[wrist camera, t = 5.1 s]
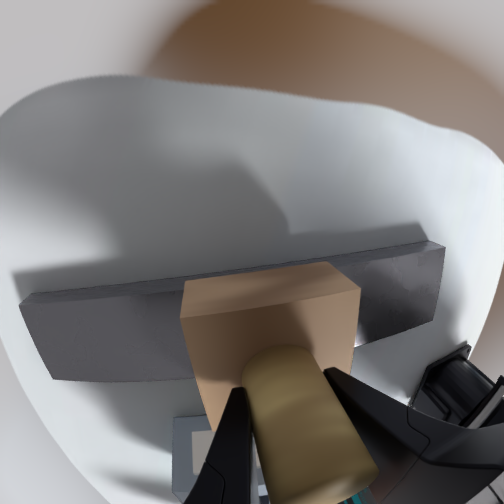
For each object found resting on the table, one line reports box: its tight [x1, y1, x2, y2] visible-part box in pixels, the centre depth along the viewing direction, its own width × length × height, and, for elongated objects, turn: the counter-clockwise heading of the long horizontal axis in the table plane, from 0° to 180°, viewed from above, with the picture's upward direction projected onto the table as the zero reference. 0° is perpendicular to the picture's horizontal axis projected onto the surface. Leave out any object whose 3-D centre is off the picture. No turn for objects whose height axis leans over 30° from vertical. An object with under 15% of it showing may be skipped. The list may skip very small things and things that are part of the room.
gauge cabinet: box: [172, 415, 270, 504], centre depth 14 cm, size 7×7×6 cm
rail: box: [19, 241, 446, 382], centre depth 13 cm, size 24×5×2 cm, turn 94°
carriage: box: [180, 261, 379, 504], centre depth 8 cm, size 6×6×8 cm
